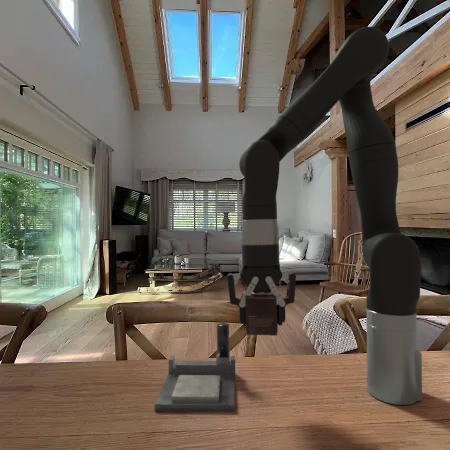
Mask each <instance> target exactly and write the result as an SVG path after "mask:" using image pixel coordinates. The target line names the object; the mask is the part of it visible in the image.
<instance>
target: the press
mask: <svg viewBox="0 0 450 450" xmlns="http://www.w3.org/2000/svg"><path fill="white" fill-rule="evenodd" d="M235 380H236V356H235V355H231V356H230V365H216V360H177V361H176V356H175V355H170V356H169V358H168V374H167V376H166V378H165V380H164V382H163V385H162V387H161V390H160V392H159V394H158V397H157V398H156V400H155V402H154V412H227V413H228V412H233V413H234V412H235Z"/></svg>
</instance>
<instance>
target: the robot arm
mask: <svg viewBox="0 0 450 450" xmlns="http://www.w3.org/2000/svg"><path fill="white" fill-rule="evenodd" d="M389 52H390V42H389V39H388V37H387V35H386V34H385V33H384V31H382V30H381V29H380V28H378V27H375V26H363V27H361V28H358V29H357V30H354V31H353V32H352V33H351V34H350V35H349V36H348V37H346V39H345V40H344V42H343V43H342V44H341V46H340V47H339V49H338V50H337V52H336V53H335V55H333V56H334V57H333V58H332V62H331V63H330V64H329V65H328V66H327V67H326V69H324V70H323V72H322V73H321V74H320V75H319V76H318V77H317V78H316V79H315V80H314V81H313V82H312V83H311V84H310V85H309V86H308V87H307V88H306V89H305V90H304V91H302V93H301V94H300V95H299V96H298V97H296V98H295V99H294V100H293V102H292V103H290V104H289V105H288V106H287V107H286V108H285V109H284V110H283V111H282V112H281V113H280V114H279V116H277V117H276V119H274V121H273V122H272V123H271V125H270V126H269V127H268V129H267V130H266V132H264V133H263V134H262V135H261V136H260V137H259V138H258V139H257V140H256V141H253V142H252V143H250V144H249V145H247V147H246V148H245V150H244V151H243V153H242V154H241V157H240V159H239V163H238V164H239V165H238V167H239V171H240V173H241V175H242V176H243V177H244V193H243V196H242V201H241V202H242V203H241V205H242V206H241V210H242V211H241V212H242V217H241V218H242V221H241V222H242V225H241V240H240V242H241V267H242V268H241V270H240V272H239V273H237V272H236V273H231V272H229V273H228V274H227V286H228V295H229V296H228V297H229V303H230V304H231V305H235V306H237V307H238V308H239V310H238V311H239V315H238V317H239V322H240V324H242V326H243V327H246V297H250V296H251V294H252V292H254V293H260V292H264V293H270V292H272V293H273V295H274V296H275V297H276V298H277V323H278V326H283V323H285V322H286V306H287V305H289V304H294V303H295V297H296V296H295V295H296V282H297V281H296V279H297V275H296V273H294V272H292V271H289V272H282V271H281V268H280V235H279V232H280V230H279V225H278V205H277V204H278V203H277V193H278V192H277V191H278V187H279V186H278V185H279V177H280V162H282V161H283V159H284V158H285V157H286V156H287V154H288V153H290V152H291V151H292V150H294V149H295V148H296V147H297V146H298V145H300V144H301V143H302V142H303V141H304V139H306V138H307V136H309V135H310V133H312V131H313V130H314V129H315V128H316V127H317V126H318V125H319V124H320V122H321V121H323V119H324V118H325V117H326V116H327V114H328V113H329V112H330V111H331V110H332V109H333V107H334V106H335V105H336V104H337V103H338V102H339V106H340V109H341V113H342V121H343V126H344V127H343V128H344V133H345V138H346V146H347V147H346V148H347V155H348V160H349V161H348V162H349V167H350V172H351V173H350V174H351V176H352V177H351V178H352V181H353V187H354V191H355V196H356V201H357V204H358V210H359V214H360V222H361V223H360V224H361V225H360V226H361V241H362V242H361V243H362V244H361V247H362V258H363V261H364V262H365V264H366V265H367V267H368V268H369V290H368V293H367V295H366V298H365V299H366V300H365V302H366V303H365V304H366V305H365V307H366V314H365V315H366V388H367V389H366V390H367V391H368V393H369V394H370V395H371V396H372V397H374V398H376V399H378V400H379V401H382V402H384V403H387V404H391V405H399V406H408V405H412V404H415V403H416V402H422V401H423V359H422V358H423V354H422V352H421V351H420V350H418V343H417V342H418V340H417V339H418V337H417V336H418V333H417V332H418V331H417V328H418V327H417V323H418V321H417V306H418V303H419V300H420V297H421V282H422V280H421V277H422V276H421V275H422V273H421V272H422V261H421V260H422V259H421V252H420V249H419V246H418V245H417V243H416V242H415V241H414V240H413V239H412V238H411V237H409V236H407V235H405V234H404V233H403V234H402V232H401V230H400V224H399V220H398V215H397V207H396V206H397V205H396V202H397V192H398V183H399V159H398V153H397V146H396V141H395V138H394V134H393V132H392V130H391V128H390V127H389V126H388V124H387V123H386V121H385V120H384V118H382V116H381V115H380V113H379V112H378V111H377V109H376V107H375V104H374V100H373V93H372V88H371V78H372V77H373V75H374V74H375V73H377V71H379V70H380V68H381V67H382V66H383V65H384V63H385V61H386V60H387V58H388V55H389ZM240 279H241V281H242V282H243V283H244V284H245V286H246V287H244V290H243V292H242V294H241V296H240V298H239V297H236V289H235V288H236V287H235V285H238V283H239V280H240ZM282 279H283V281H284V283H285V284H286V296H284V297H282V294H281V293H280V290H279V289H278V287H277V285H278V284H279V283H280V281H281V280H282Z"/></svg>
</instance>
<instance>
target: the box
mask: <svg viewBox="0 0 450 450" xmlns="http://www.w3.org/2000/svg"><path fill="white" fill-rule="evenodd" d="M277 305H278V302H277V298H276V297H275V296H274V295H273V293H272V291H271V292H270V293H264V292H260V293H254V292H252V294H251V296H250V297H246V326H245V327H246V330H245V331H246V335H248V336H272V337H274V336H275V337H276V336H278V330H279V325H278V323H277Z"/></svg>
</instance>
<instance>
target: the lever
mask: <svg viewBox="0 0 450 450" xmlns="http://www.w3.org/2000/svg"><path fill="white" fill-rule="evenodd" d="M230 355H231V353H230V324H229V323H225V322H220V323H217V325H216V357H215V359H216V360H215V361H216V365H230V361H231V356H230Z"/></svg>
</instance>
